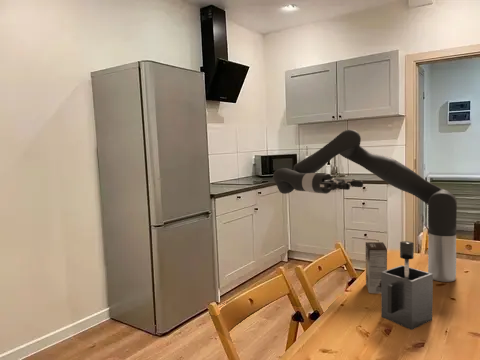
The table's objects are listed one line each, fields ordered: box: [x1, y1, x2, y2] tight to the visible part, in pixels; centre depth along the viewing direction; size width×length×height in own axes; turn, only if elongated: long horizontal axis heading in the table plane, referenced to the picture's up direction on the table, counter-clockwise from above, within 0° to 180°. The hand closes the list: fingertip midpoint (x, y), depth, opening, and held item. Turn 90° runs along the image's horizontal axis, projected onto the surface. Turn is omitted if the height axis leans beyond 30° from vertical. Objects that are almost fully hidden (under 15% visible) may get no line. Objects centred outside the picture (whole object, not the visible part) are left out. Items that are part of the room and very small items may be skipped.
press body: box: [380, 264, 434, 331], centre depth 110 cm, size 13×10×14 cm
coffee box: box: [365, 241, 388, 294], centre depth 134 cm, size 9×6×16 cm
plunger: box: [399, 240, 415, 280], centre depth 111 cm, size 8×8×21 cm
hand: (356, 185), depth 129 cm, fingers open, 8 cm apart
